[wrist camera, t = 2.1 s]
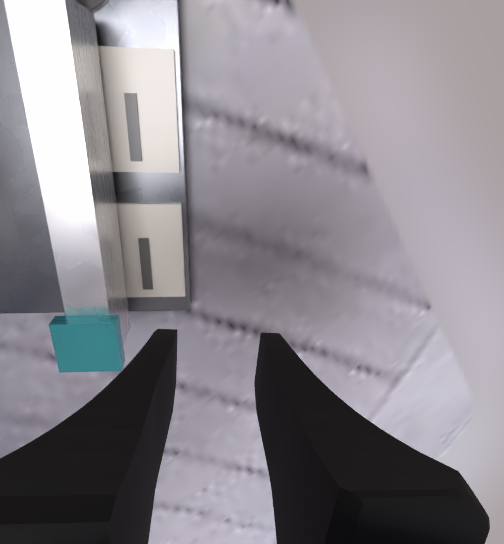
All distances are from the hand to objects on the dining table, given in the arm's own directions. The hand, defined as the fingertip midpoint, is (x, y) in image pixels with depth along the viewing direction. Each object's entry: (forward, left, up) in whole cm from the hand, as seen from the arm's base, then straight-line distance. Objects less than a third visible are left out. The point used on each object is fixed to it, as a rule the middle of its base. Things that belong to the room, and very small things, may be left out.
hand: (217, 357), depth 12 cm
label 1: (+7, +4, -9) cm, 12 cm away
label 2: (+1, +4, -9) cm, 10 cm away
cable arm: (+3, +6, -8) cm, 10 cm away
